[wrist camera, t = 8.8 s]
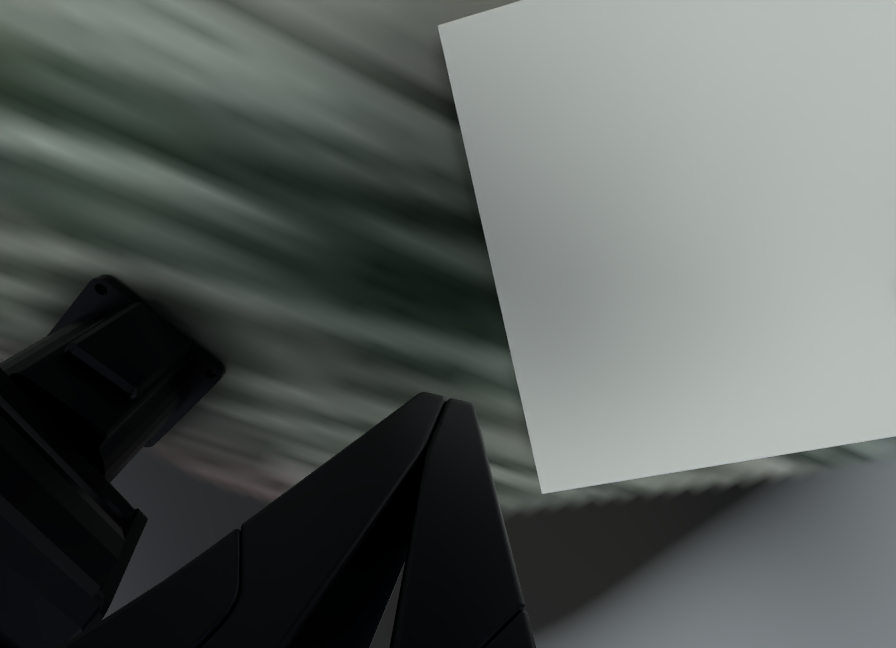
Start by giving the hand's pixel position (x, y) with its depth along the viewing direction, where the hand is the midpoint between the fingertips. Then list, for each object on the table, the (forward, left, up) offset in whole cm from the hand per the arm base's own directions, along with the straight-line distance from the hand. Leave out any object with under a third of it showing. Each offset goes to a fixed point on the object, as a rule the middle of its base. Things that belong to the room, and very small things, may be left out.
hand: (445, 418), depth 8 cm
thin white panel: (+9, -8, -13) cm, 18 cm away
